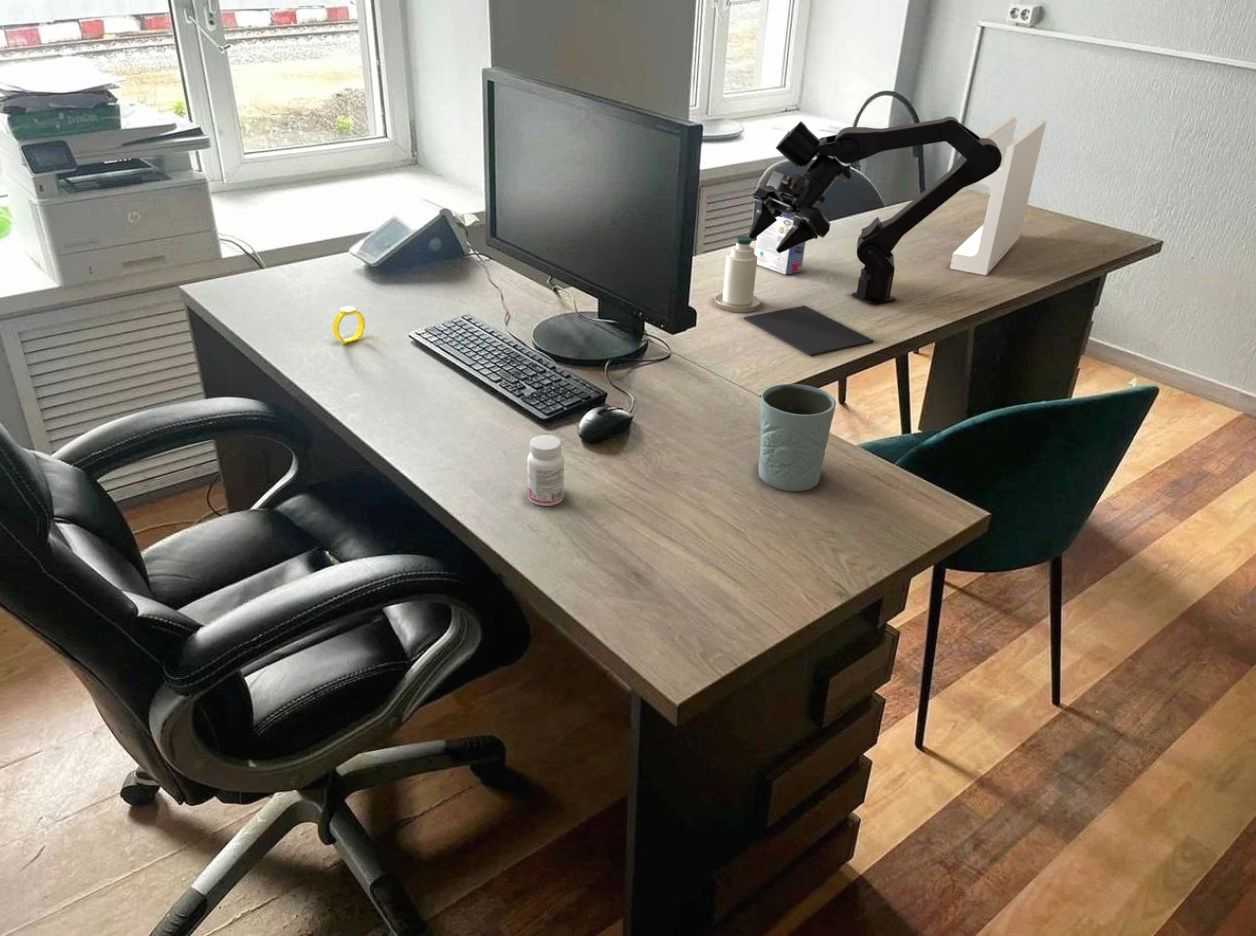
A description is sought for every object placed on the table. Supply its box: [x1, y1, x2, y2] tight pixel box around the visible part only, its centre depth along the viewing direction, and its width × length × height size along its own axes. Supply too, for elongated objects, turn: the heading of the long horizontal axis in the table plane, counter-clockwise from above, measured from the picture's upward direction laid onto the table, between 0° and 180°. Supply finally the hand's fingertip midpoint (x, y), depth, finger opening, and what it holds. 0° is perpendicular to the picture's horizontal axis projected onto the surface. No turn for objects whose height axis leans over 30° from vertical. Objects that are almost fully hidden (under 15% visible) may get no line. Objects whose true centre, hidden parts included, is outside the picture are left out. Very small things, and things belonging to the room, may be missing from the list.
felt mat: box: [743, 305, 874, 357], centre depth 190 cm, size 15×20×1 cm
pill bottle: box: [527, 434, 565, 507], centre depth 132 cm, size 5×5×8 cm
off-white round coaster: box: [714, 292, 761, 313], centre depth 200 cm, size 9×9×1 cm
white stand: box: [949, 116, 1047, 276], centre depth 231 cm, size 35×8×28 cm, turn 150°
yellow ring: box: [332, 305, 366, 344], centre depth 176 cm, size 6×3×6 cm, turn 142°
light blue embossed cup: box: [758, 383, 837, 492], centre depth 139 cm, size 10×10×12 cm
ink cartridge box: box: [754, 213, 806, 275], centre depth 218 cm, size 10×6×14 cm, turn 41°
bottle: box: [722, 235, 758, 305], centre depth 197 cm, size 6×6×12 cm
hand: (763, 244), depth 197 cm, fingers open, 9 cm apart
